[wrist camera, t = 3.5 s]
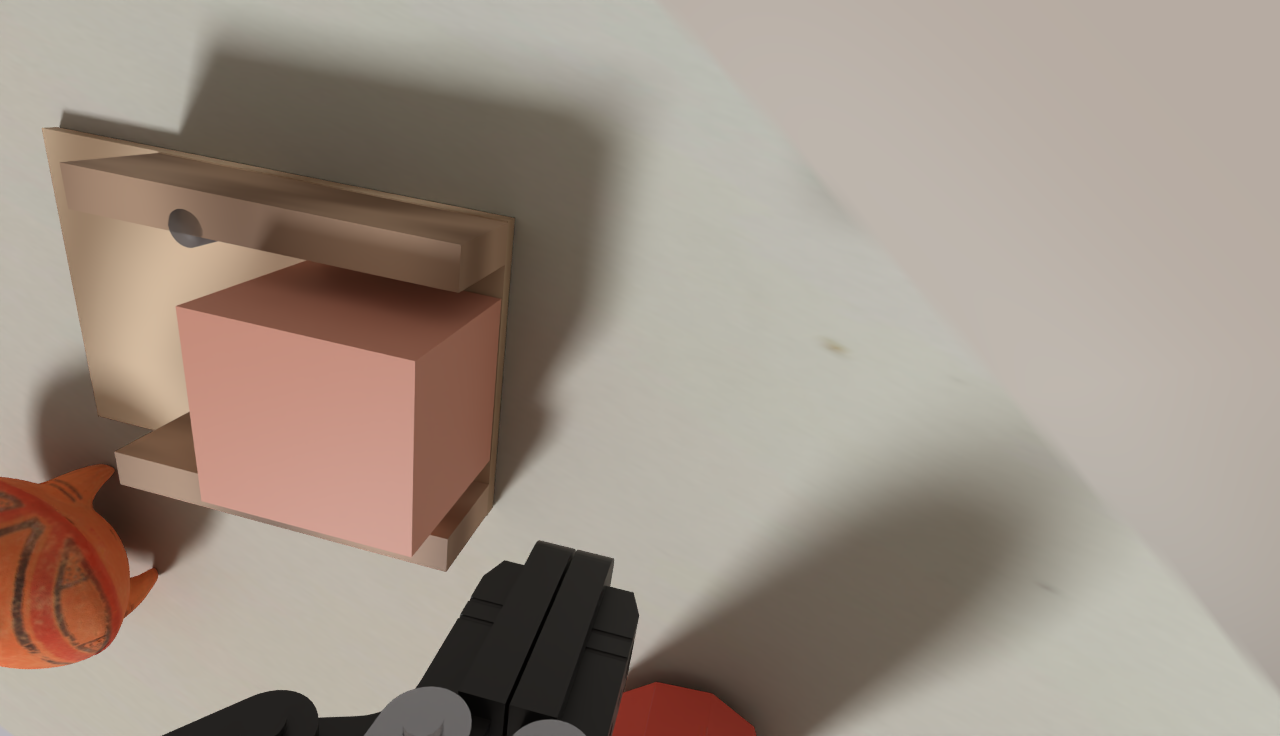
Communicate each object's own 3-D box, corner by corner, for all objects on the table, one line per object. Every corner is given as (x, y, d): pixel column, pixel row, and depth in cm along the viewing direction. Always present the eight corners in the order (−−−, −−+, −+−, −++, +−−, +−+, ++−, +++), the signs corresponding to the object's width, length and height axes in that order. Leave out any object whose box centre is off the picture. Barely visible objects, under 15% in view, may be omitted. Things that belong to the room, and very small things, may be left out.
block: (501, 299, 19) (415, 361, 15) (489, 460, 22) (411, 557, 17) (312, 258, 20) (175, 306, 16) (319, 418, 22) (201, 501, 18)
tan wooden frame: (514, 217, 19) (461, 242, 16) (492, 507, 23) (446, 573, 20) (57, 127, 21) (-73, 133, 18) (110, 409, 25) (12, 456, 22)
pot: (229, 543, 26) (46, 701, 21) (171, 590, 31) (9, 729, 25) (61, 389, 24) (-184, 519, 19) (26, 463, 29) (-180, 584, 24)
